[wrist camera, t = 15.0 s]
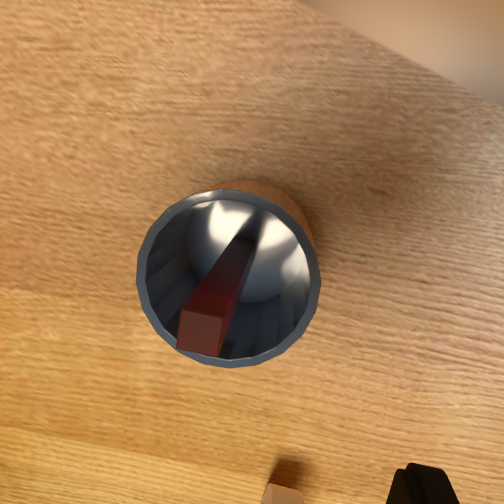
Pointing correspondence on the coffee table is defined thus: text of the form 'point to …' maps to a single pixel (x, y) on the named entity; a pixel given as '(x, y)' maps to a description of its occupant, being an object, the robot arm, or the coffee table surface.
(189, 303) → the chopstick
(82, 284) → the coffee table surface
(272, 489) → the contact lens case
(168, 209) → the cup
